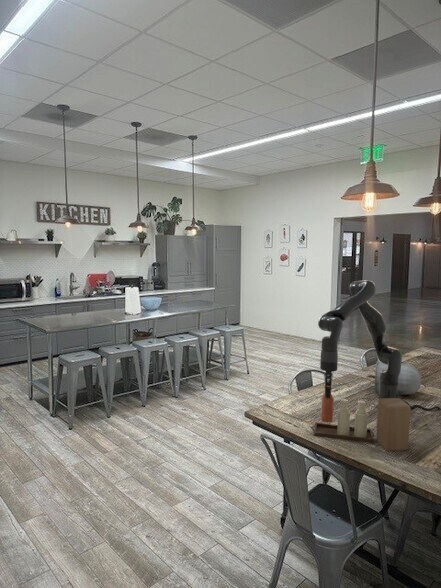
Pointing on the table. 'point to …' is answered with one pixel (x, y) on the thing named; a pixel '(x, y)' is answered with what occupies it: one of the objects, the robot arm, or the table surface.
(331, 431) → the tray
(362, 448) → the table surface
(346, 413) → the cream bottle
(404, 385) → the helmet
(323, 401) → the terracotta bottle
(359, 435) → the cream bottle
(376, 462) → the table surface
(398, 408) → the wooden block
